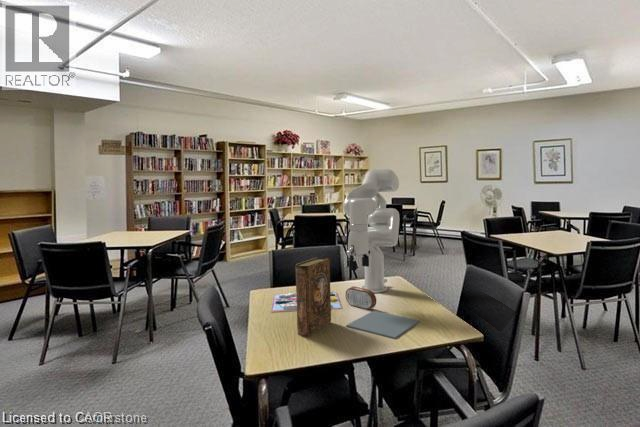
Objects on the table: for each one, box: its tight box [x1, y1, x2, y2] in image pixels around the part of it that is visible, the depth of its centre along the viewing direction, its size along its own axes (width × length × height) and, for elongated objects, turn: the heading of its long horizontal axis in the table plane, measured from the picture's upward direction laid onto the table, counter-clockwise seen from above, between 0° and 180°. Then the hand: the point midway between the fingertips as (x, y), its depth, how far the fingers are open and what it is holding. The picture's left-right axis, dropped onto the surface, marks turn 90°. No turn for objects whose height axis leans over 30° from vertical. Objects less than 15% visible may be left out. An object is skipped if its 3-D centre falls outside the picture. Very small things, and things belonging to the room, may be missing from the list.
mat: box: [346, 310, 421, 340], centre depth 142 cm, size 20×20×1 cm
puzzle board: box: [270, 291, 343, 313], centre depth 172 cm, size 30×23×3 cm
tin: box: [345, 286, 377, 310], centre depth 163 cm, size 15×3×8 cm, turn 47°
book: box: [295, 257, 332, 338], centre depth 139 cm, size 16×6×25 cm, turn 150°
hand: (359, 268), depth 161 cm, fingers open, 9 cm apart
